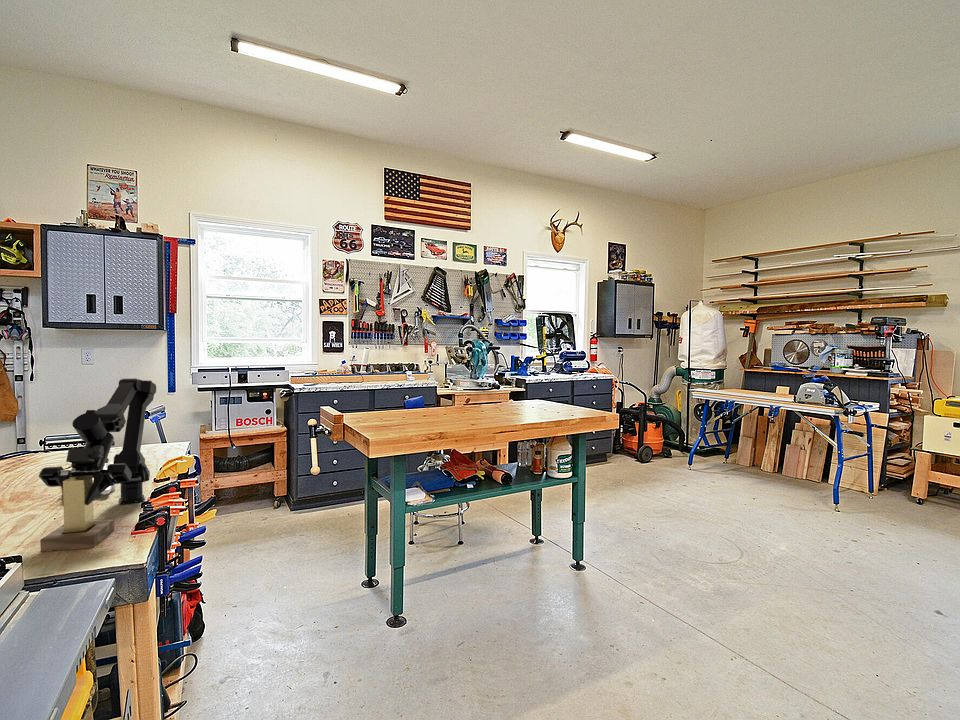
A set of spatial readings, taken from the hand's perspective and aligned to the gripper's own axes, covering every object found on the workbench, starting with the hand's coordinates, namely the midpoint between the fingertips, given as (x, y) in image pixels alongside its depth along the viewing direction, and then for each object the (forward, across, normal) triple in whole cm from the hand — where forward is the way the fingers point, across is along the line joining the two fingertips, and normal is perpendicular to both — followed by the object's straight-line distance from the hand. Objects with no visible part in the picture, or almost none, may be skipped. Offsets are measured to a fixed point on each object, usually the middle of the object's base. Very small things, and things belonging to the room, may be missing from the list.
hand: (75, 504), depth 123 cm
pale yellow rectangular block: (+4, 0, +6) cm, 7 cm away
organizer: (-30, -19, +46) cm, 58 cm away
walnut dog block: (+6, 0, +8) cm, 10 cm away
